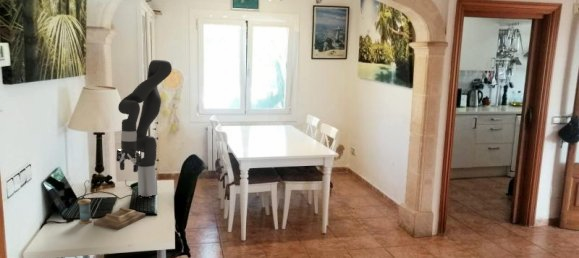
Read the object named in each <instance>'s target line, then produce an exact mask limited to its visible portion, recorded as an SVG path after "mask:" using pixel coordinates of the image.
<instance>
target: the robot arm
mask: <svg viewBox="0 0 579 258" xmlns="http://www.w3.org/2000/svg"><path fill="white" fill-rule="evenodd" d="M172 70H173V69H172V64H171V62H170V61H168V60H166V59H164V60H163V59H153V60H151V61H150V62H149V64H148V68H147V76H146V77H147V79H145V80H143V81H142V82H141V83H139V84H138V85H137V86H136V87H135V88H134V90H133V91H132V92H131V93H129V94H128V95H127V96H125V97H124V98H122V99H121V100H120V101H119V104H118V107H117V108H118V109H117V110H118V111H119V113H120V114H123V115H128V116H127V117H126V118H124V119H122V121H121V134H120V148H121V149H117V150H116V158H115V159H116V162H119V169H120V171H124V170H125V161H126V160H128V161H131V162H132V164H133V167H132V168H133V173H137V188H138V189H137V191H138V196H139V195H141V196H152V195H156V196H157V195H158V177H157V176H156V175H157V174H156V173H157V172H156V160H157V147H158V146H157V140H156V138H155V137H154V136H152V135H147V134H148V131H149V128H150V126H151V125H152V123H153V122H154V121H156V118H157V117H158V116H159V113H160V111H161V105H162V97H161V95H160V92H159V90H158V85H160V84H161V83H162V82H163V81H164V80H166V78H168V77H169V76H170V75H171V73H172ZM141 103H142V104H141ZM140 104H141V105H142V106H140ZM139 114H140V115H139ZM138 119H139V120H138ZM137 123H138V124H137ZM142 153H143V157H142Z"/></svg>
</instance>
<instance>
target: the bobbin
mask: <svg viewBox="0 0 579 258" xmlns="http://www.w3.org/2000/svg"><path fill="white" fill-rule="evenodd" d="M91 203H92V200H91V199H89V198H83V199H79V200H78V201H77V204H78V205H79V218H80V219H79V224H81V225H85V224H91V223H92V222H93V218H92V217H91Z"/></svg>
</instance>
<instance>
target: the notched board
mask: <svg viewBox="0 0 579 258" xmlns="http://www.w3.org/2000/svg"><path fill="white" fill-rule="evenodd" d="M145 217H146V213H144V212H140V211H136V210H134V209H129V208H126V207H125V208H124V207H120V208H119V210H117V211H114V212H112V213H106V214H105V216H103V217H101V218H99V219H96V220H93V226H98V227H104V228H108V229H112V230H117V231H118V230H120V229H123V228H124V227H127V226H129V225H131V224H133V223H135V222H136V221H138V220H141V219H143V218H145Z"/></svg>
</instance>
